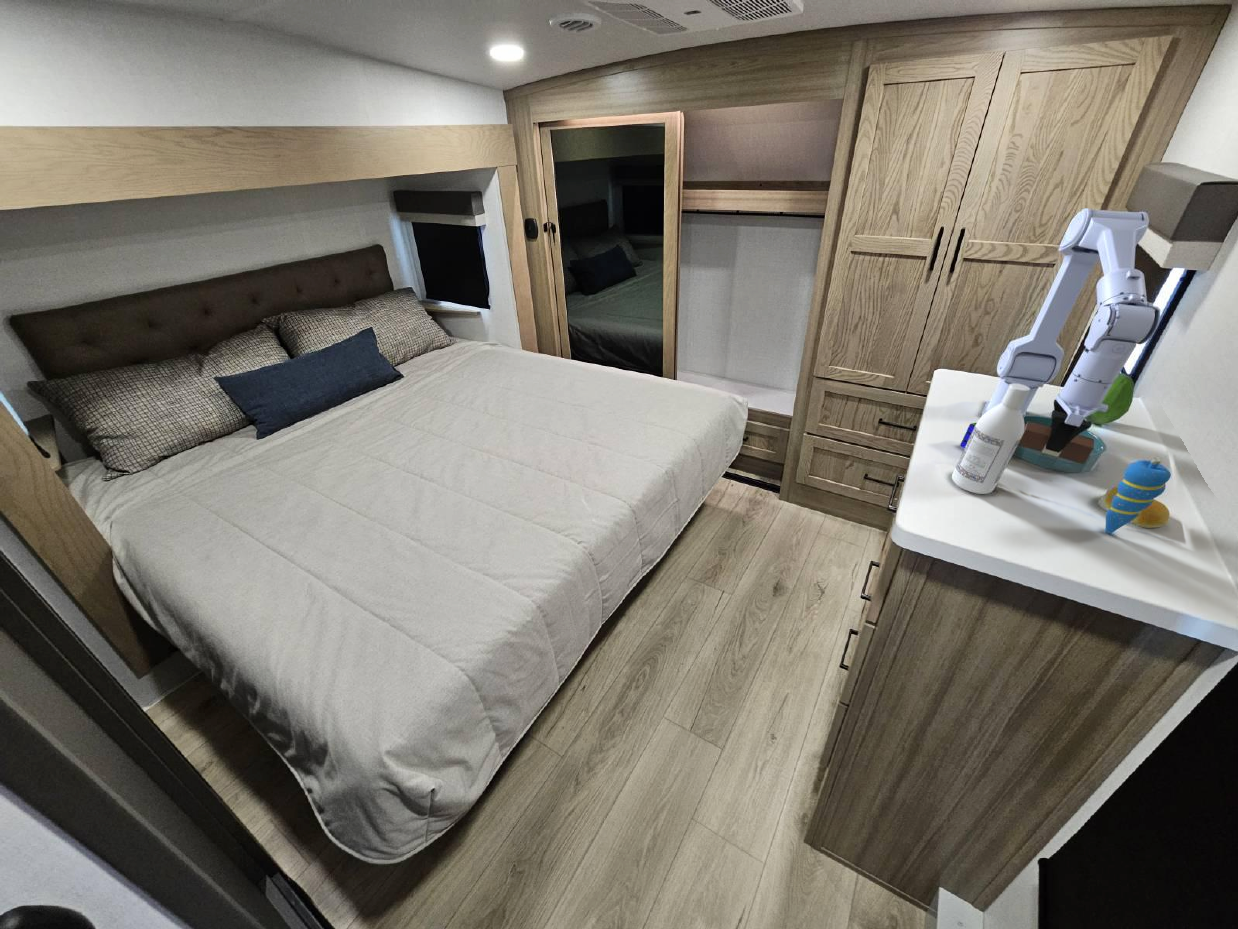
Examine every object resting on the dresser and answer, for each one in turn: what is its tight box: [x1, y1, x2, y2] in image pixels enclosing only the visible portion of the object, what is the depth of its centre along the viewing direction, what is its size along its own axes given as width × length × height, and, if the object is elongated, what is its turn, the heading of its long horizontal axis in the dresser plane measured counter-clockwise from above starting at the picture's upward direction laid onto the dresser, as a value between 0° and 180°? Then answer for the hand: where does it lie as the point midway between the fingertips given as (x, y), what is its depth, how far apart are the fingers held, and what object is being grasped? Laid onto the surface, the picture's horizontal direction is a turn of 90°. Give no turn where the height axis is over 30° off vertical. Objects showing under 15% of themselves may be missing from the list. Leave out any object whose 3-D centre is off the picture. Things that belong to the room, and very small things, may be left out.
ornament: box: [1104, 455, 1172, 535], centre depth 81 cm, size 5×5×15 cm
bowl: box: [1013, 414, 1107, 474], centre depth 105 cm, size 16×16×4 cm
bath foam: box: [951, 383, 1030, 495], centre depth 91 cm, size 7×7×20 cm
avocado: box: [1084, 372, 1135, 425], centre depth 115 cm, size 8×8×12 cm
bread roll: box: [1098, 486, 1171, 529], centre depth 89 cm, size 8×9×4 cm
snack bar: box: [1018, 421, 1094, 464], centre depth 94 cm, size 10×4×3 cm, turn 52°
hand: (1053, 444), depth 94 cm, fingers closed on snack bar, 4 cm apart
